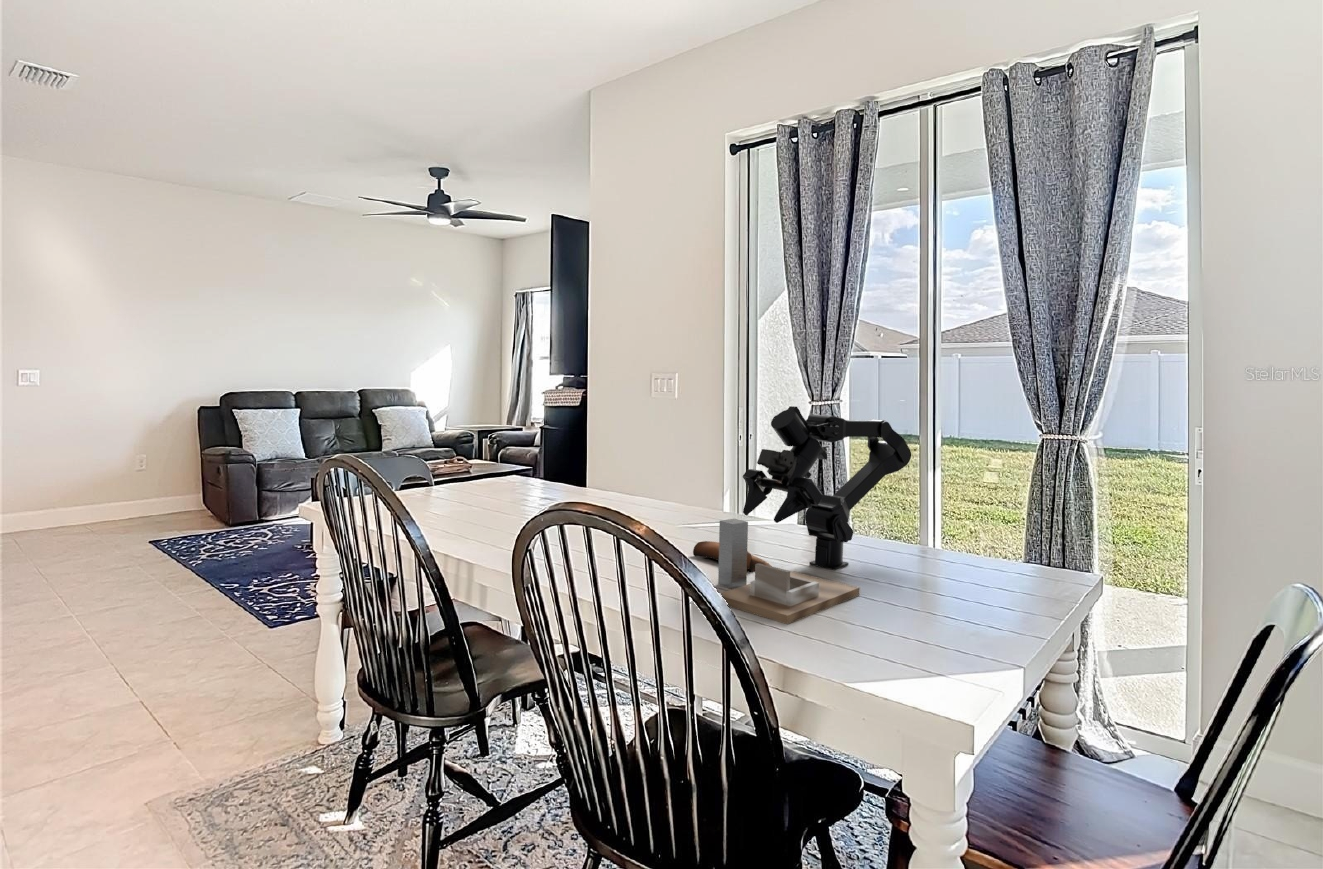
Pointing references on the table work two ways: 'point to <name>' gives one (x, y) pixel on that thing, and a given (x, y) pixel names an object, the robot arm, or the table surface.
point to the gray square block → (733, 553)
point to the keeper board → (787, 594)
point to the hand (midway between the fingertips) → (759, 517)
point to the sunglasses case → (712, 551)
